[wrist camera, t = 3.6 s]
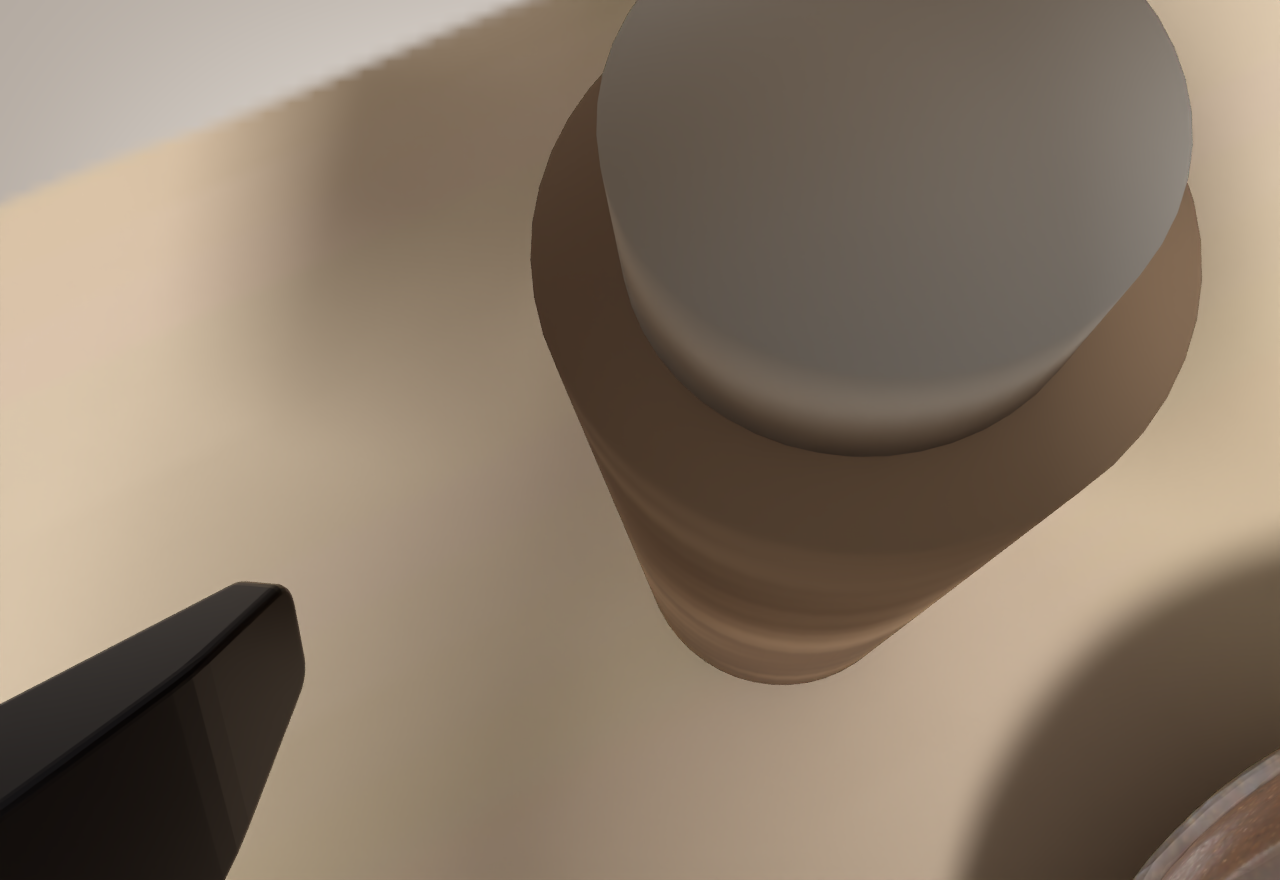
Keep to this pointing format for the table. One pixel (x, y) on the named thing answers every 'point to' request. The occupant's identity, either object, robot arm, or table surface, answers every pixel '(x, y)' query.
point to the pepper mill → (862, 296)
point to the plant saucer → (1227, 832)
